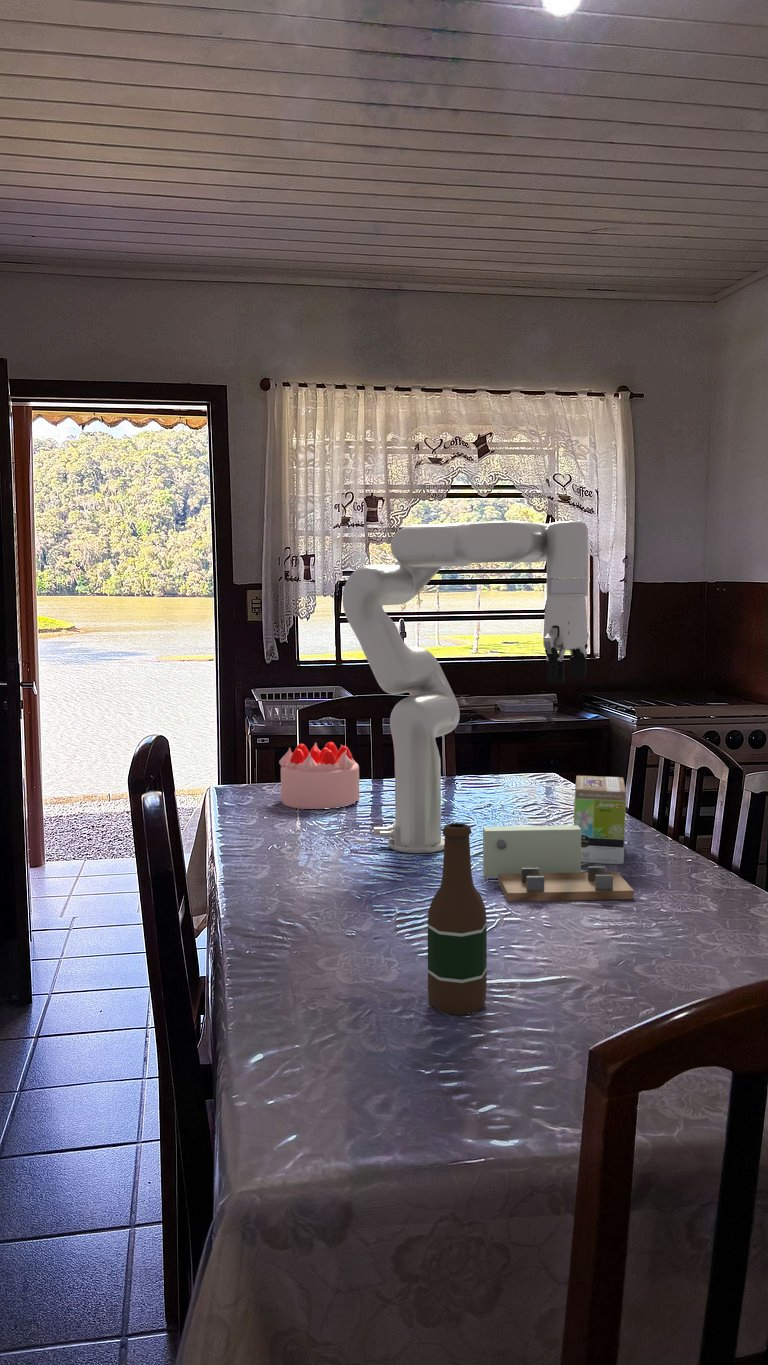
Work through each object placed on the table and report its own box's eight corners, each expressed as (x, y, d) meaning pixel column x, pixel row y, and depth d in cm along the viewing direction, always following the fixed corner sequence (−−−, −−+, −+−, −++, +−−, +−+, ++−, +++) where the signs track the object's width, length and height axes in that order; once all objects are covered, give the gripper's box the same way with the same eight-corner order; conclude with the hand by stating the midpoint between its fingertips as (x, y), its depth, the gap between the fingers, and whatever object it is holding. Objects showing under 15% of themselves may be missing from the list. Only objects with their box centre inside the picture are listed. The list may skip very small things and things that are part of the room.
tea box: (625, 865, 191) (626, 790, 190) (572, 863, 193) (573, 788, 192) (622, 845, 206) (623, 775, 204) (573, 842, 208) (574, 773, 206)
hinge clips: (527, 891, 171) (527, 877, 171) (521, 881, 177) (521, 867, 176) (612, 889, 171) (613, 875, 171) (604, 879, 177) (604, 866, 177)
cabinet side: (507, 901, 170) (507, 893, 170) (498, 882, 181) (498, 874, 181) (633, 899, 171) (633, 890, 171) (616, 879, 182) (616, 871, 182)
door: (485, 879, 183) (485, 832, 182) (482, 873, 187) (483, 827, 186) (581, 877, 184) (582, 830, 183) (577, 871, 188) (577, 825, 187)
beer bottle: (424, 992, 133) (423, 818, 131) (481, 990, 134) (481, 817, 131) (431, 1018, 126) (431, 833, 123) (492, 1015, 126) (492, 831, 124)
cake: (357, 810, 238) (357, 752, 237) (275, 811, 239) (274, 753, 237) (360, 793, 258) (360, 739, 256) (284, 793, 258) (283, 740, 257)
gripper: (567, 588, 192) (567, 675, 194) (527, 589, 178) (528, 683, 180) (604, 587, 188) (603, 677, 190) (566, 589, 174) (566, 685, 175)
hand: (566, 680), depth 185 cm, fingers open, 9 cm apart
